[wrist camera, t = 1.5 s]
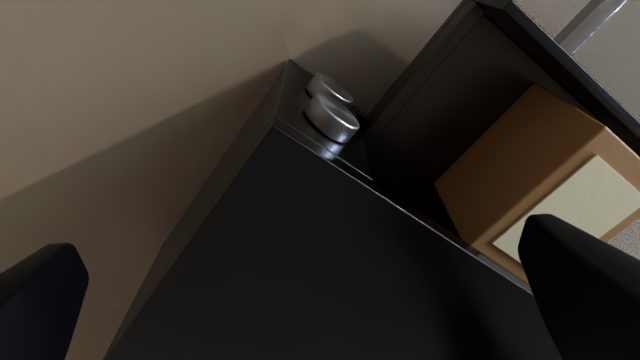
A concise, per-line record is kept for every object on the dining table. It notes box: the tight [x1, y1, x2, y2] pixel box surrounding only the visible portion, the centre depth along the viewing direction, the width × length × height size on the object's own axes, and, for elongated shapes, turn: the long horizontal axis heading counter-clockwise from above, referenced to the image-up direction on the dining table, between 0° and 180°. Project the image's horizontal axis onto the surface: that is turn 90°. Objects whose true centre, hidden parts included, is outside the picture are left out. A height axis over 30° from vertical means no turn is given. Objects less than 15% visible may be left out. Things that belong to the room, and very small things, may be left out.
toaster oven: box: [103, 59, 562, 360], centre depth 21 cm, size 20×15×8 cm
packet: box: [434, 83, 640, 284], centre depth 18 cm, size 4×6×5 cm
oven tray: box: [360, 0, 640, 239], centre depth 18 cm, size 14×18×4 cm
